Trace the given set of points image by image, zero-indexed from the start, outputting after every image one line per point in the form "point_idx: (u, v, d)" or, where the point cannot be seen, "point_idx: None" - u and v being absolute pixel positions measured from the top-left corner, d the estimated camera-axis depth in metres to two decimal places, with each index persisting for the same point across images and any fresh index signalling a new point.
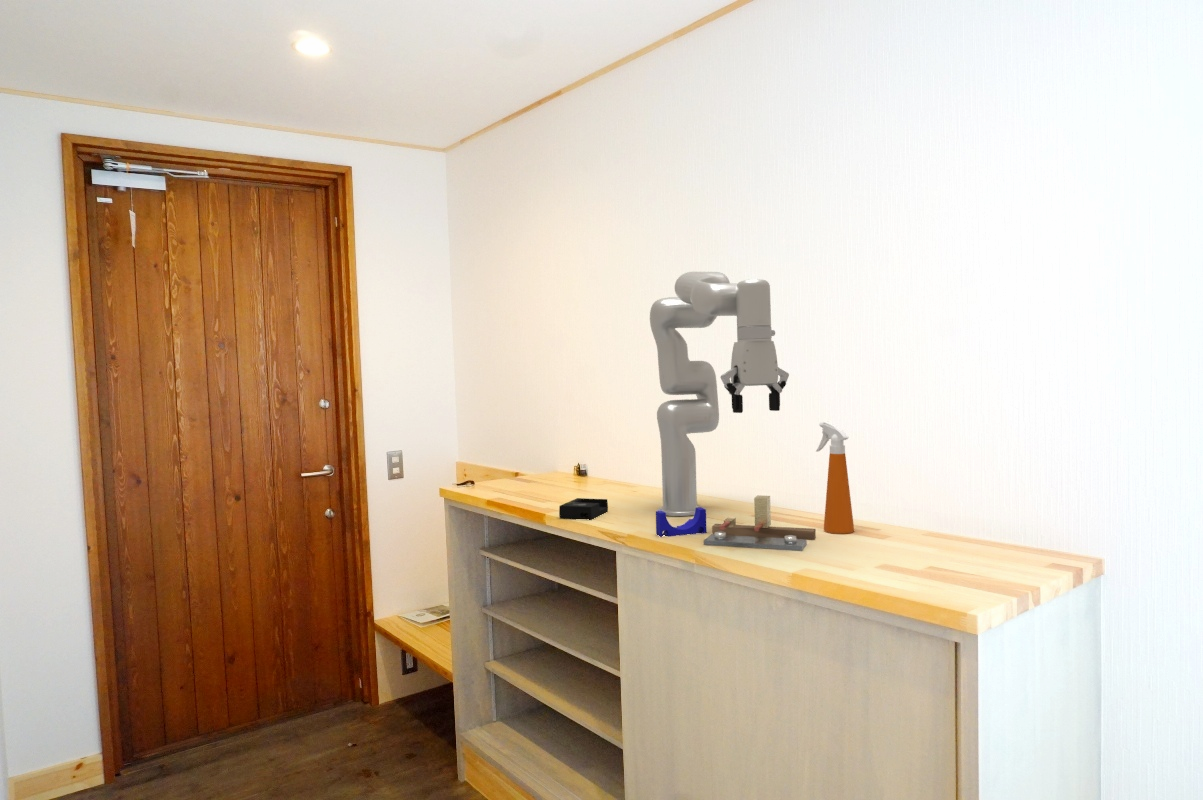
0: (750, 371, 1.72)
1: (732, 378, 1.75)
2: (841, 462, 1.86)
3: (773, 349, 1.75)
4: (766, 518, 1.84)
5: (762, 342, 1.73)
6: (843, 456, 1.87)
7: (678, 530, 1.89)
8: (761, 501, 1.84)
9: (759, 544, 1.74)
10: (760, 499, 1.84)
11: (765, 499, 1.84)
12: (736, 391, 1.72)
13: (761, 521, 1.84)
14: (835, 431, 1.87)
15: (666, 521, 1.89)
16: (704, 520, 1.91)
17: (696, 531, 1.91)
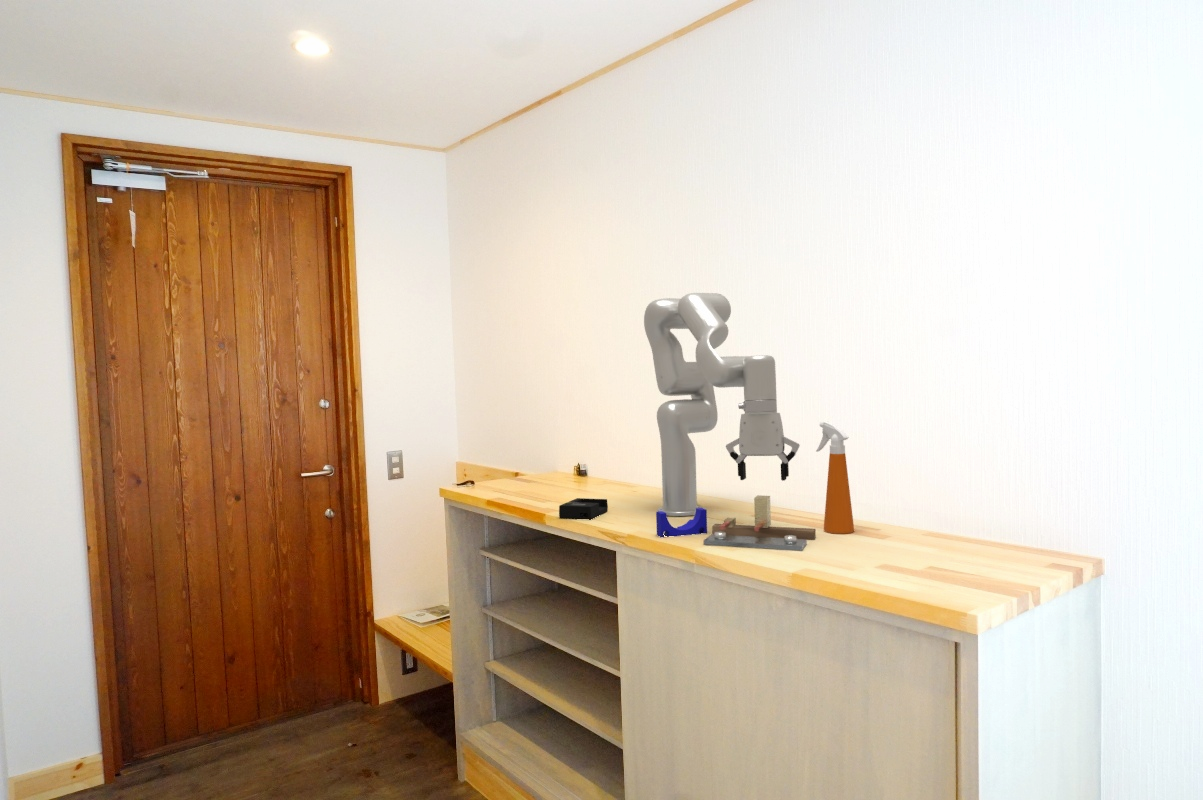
0: None
1: (782, 447, 1.82)
2: (841, 462, 1.86)
3: None
4: (766, 518, 1.84)
5: None
6: (843, 456, 1.87)
7: (679, 530, 1.89)
8: (761, 501, 1.84)
9: (759, 544, 1.74)
10: (760, 499, 1.84)
11: (765, 499, 1.84)
12: None
13: (761, 521, 1.84)
14: (835, 431, 1.87)
15: (667, 521, 1.88)
16: (705, 520, 1.91)
17: (697, 531, 1.90)
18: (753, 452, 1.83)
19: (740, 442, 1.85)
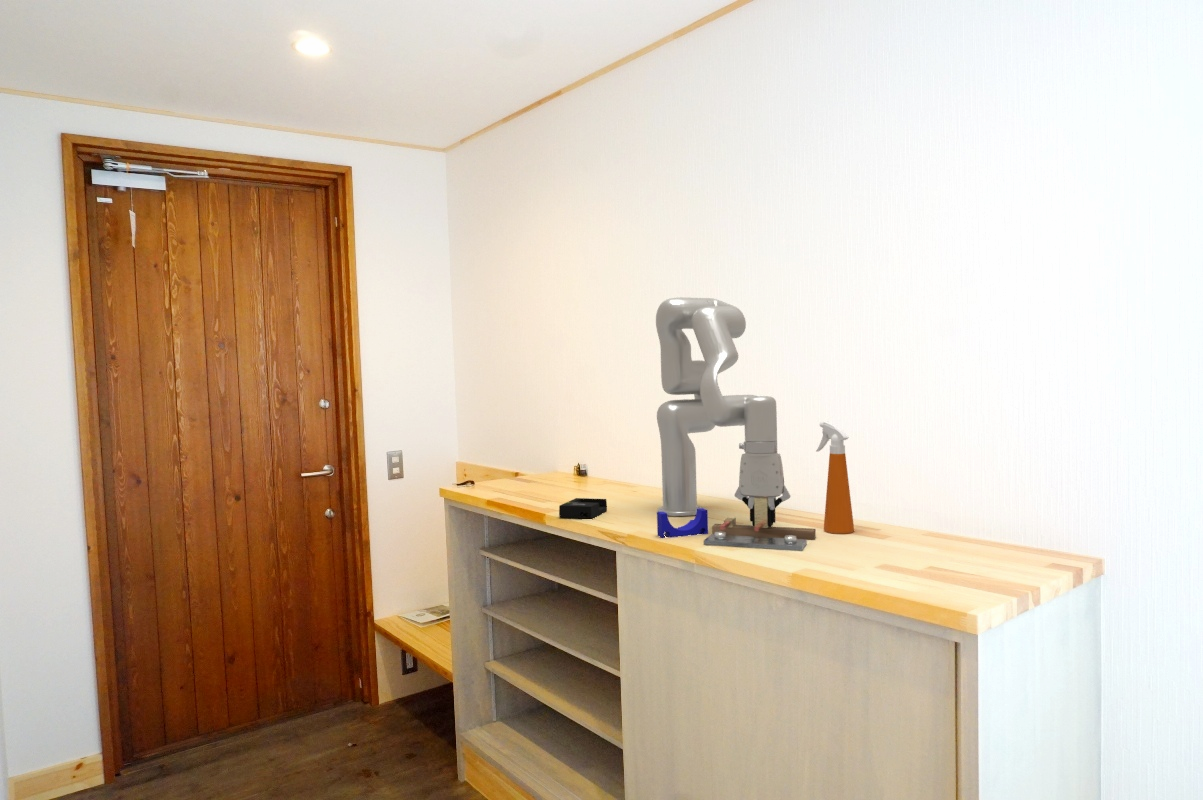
0: None
1: (782, 489, 1.83)
2: (841, 462, 1.86)
3: None
4: (766, 518, 1.84)
5: None
6: (843, 456, 1.87)
7: (679, 531, 1.88)
8: (761, 501, 1.84)
9: (759, 544, 1.74)
10: (760, 499, 1.84)
11: (765, 499, 1.84)
12: None
13: (761, 521, 1.84)
14: (835, 431, 1.87)
15: (667, 522, 1.87)
16: (706, 521, 1.90)
17: (698, 532, 1.90)
18: (753, 493, 1.84)
19: (740, 482, 1.85)
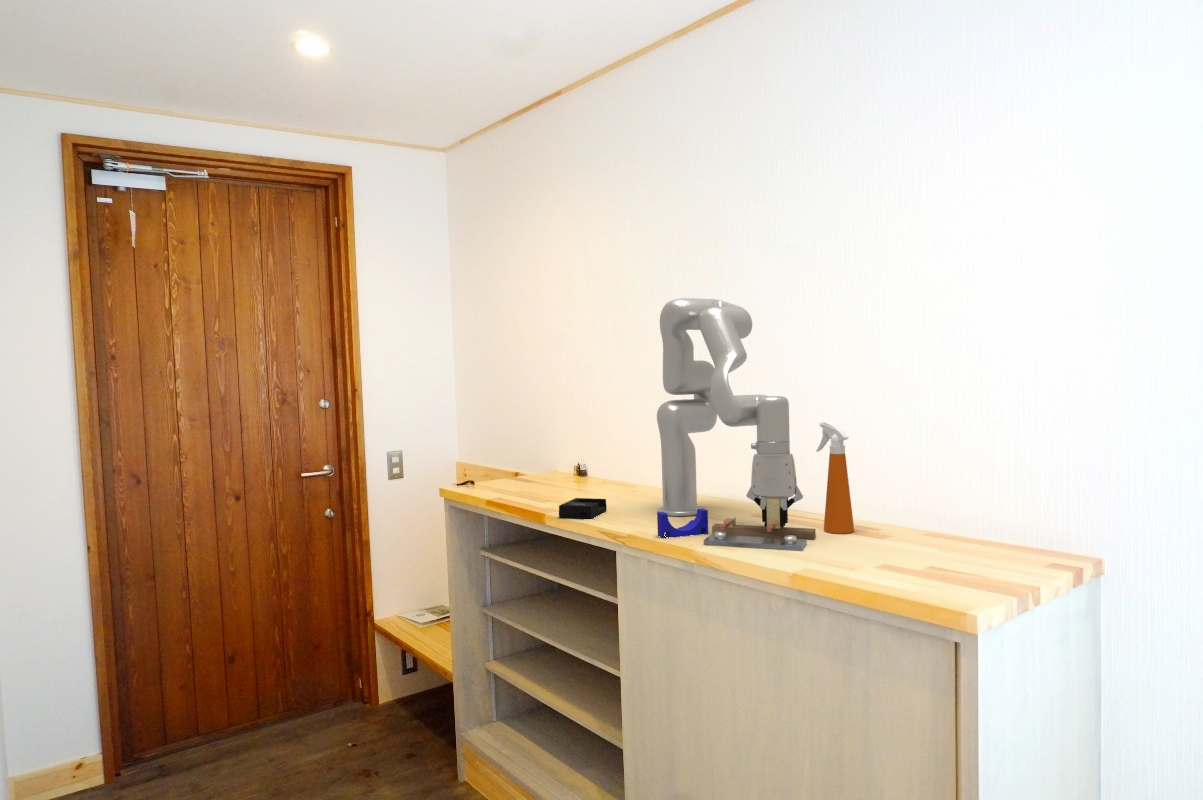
0: None
1: (794, 490, 1.81)
2: (841, 462, 1.86)
3: None
4: (778, 518, 1.83)
5: None
6: (843, 456, 1.87)
7: (680, 531, 1.88)
8: (773, 501, 1.83)
9: (759, 544, 1.74)
10: (772, 499, 1.83)
11: (777, 499, 1.83)
12: None
13: (773, 522, 1.83)
14: (835, 431, 1.87)
15: (668, 522, 1.87)
16: (706, 521, 1.90)
17: (698, 532, 1.89)
18: (765, 493, 1.83)
19: (752, 483, 1.84)
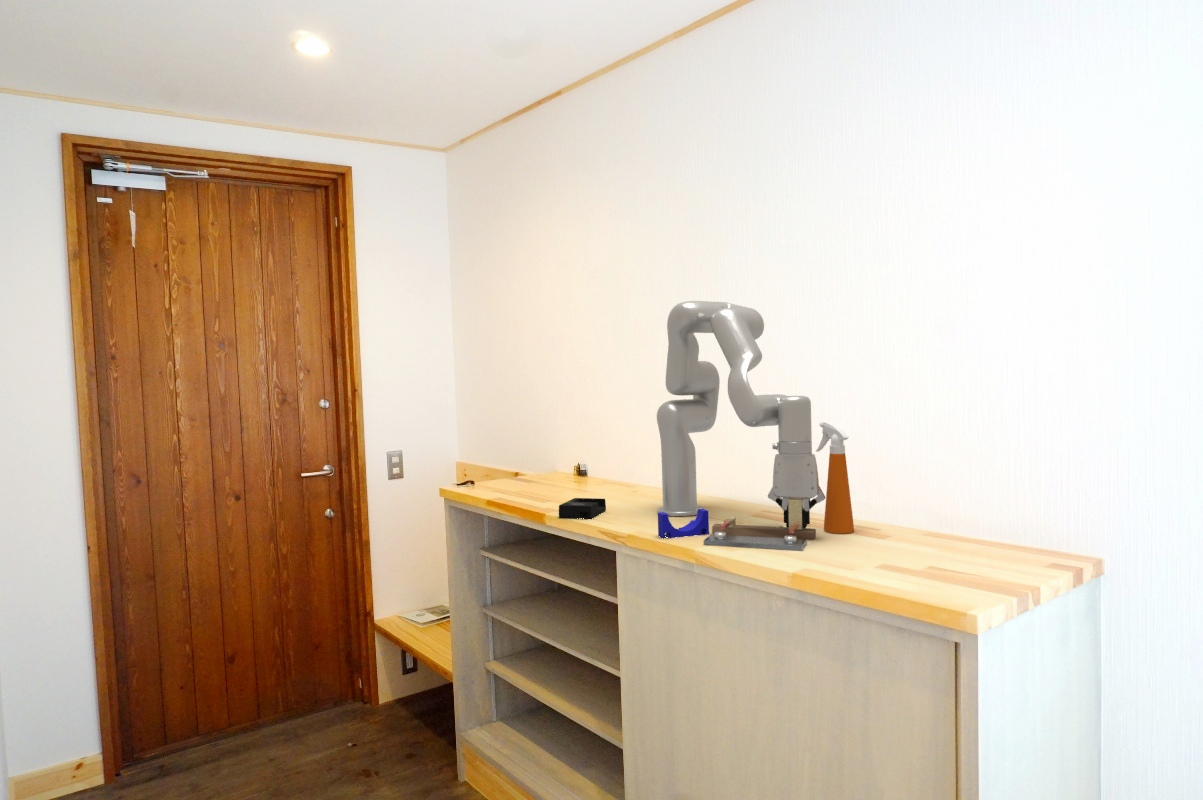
0: None
1: (817, 490, 1.79)
2: (841, 462, 1.86)
3: None
4: (800, 519, 1.81)
5: None
6: (843, 456, 1.87)
7: (680, 532, 1.88)
8: (795, 502, 1.81)
9: (759, 544, 1.74)
10: (794, 500, 1.81)
11: (799, 500, 1.81)
12: None
13: (795, 523, 1.81)
14: (835, 431, 1.87)
15: (668, 523, 1.87)
16: (706, 521, 1.90)
17: (698, 533, 1.89)
18: (787, 494, 1.81)
19: (774, 483, 1.82)
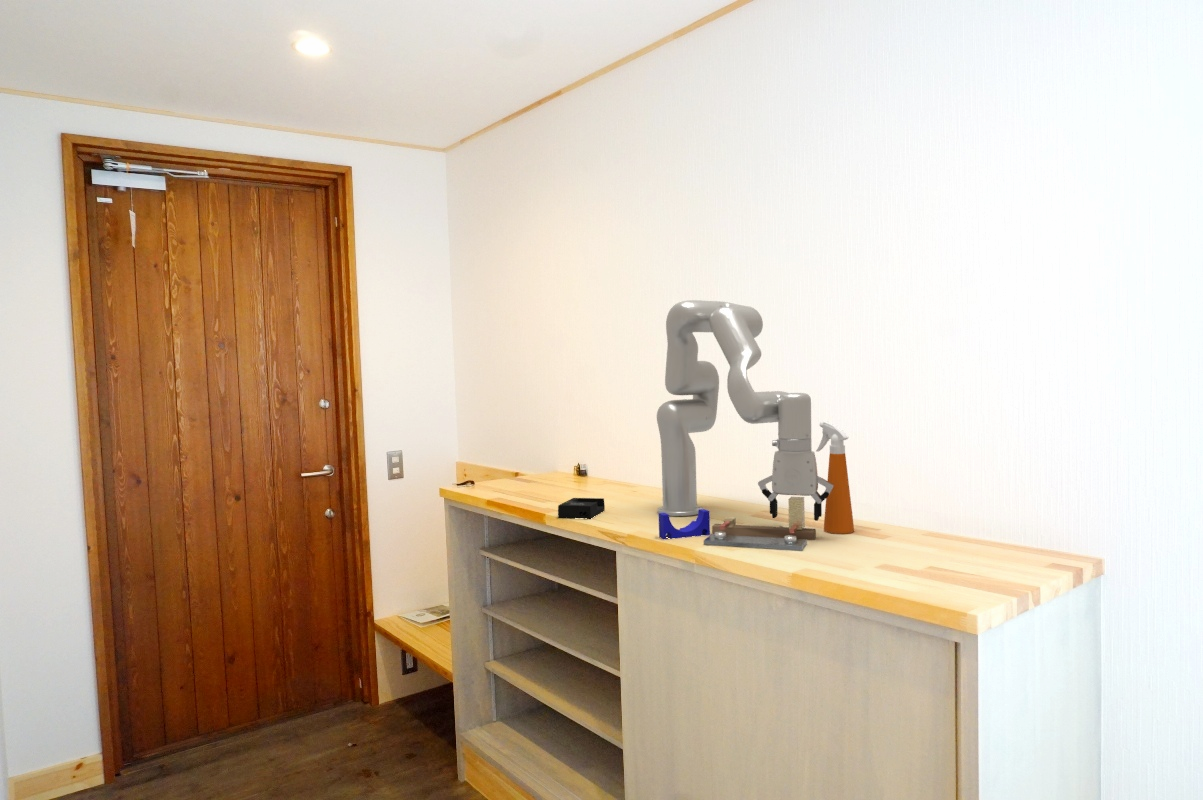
0: None
1: (816, 488, 1.80)
2: (841, 462, 1.86)
3: None
4: (800, 519, 1.81)
5: None
6: (843, 456, 1.87)
7: (681, 532, 1.87)
8: (796, 502, 1.81)
9: (759, 544, 1.74)
10: (794, 500, 1.81)
11: (800, 500, 1.81)
12: None
13: (795, 523, 1.81)
14: (835, 431, 1.87)
15: (669, 523, 1.86)
16: (707, 522, 1.89)
17: (699, 533, 1.88)
18: (786, 491, 1.81)
19: (773, 480, 1.82)
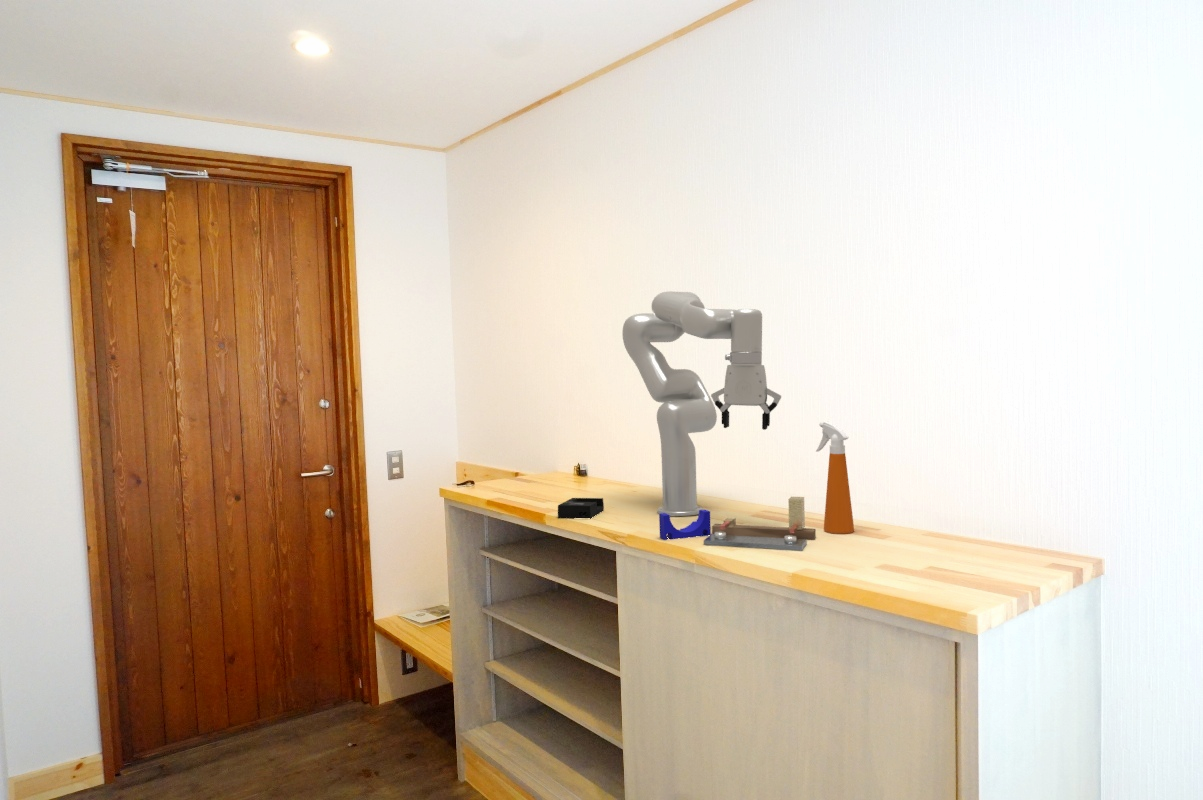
0: None
1: (764, 398, 1.91)
2: (841, 462, 1.86)
3: None
4: (800, 519, 1.81)
5: None
6: (843, 456, 1.87)
7: (682, 533, 1.86)
8: (796, 502, 1.81)
9: (759, 544, 1.74)
10: (794, 500, 1.81)
11: (800, 500, 1.81)
12: None
13: (795, 523, 1.81)
14: (835, 431, 1.87)
15: (670, 523, 1.85)
16: (708, 522, 1.88)
17: (700, 533, 1.88)
18: (736, 402, 1.92)
19: (725, 392, 1.93)
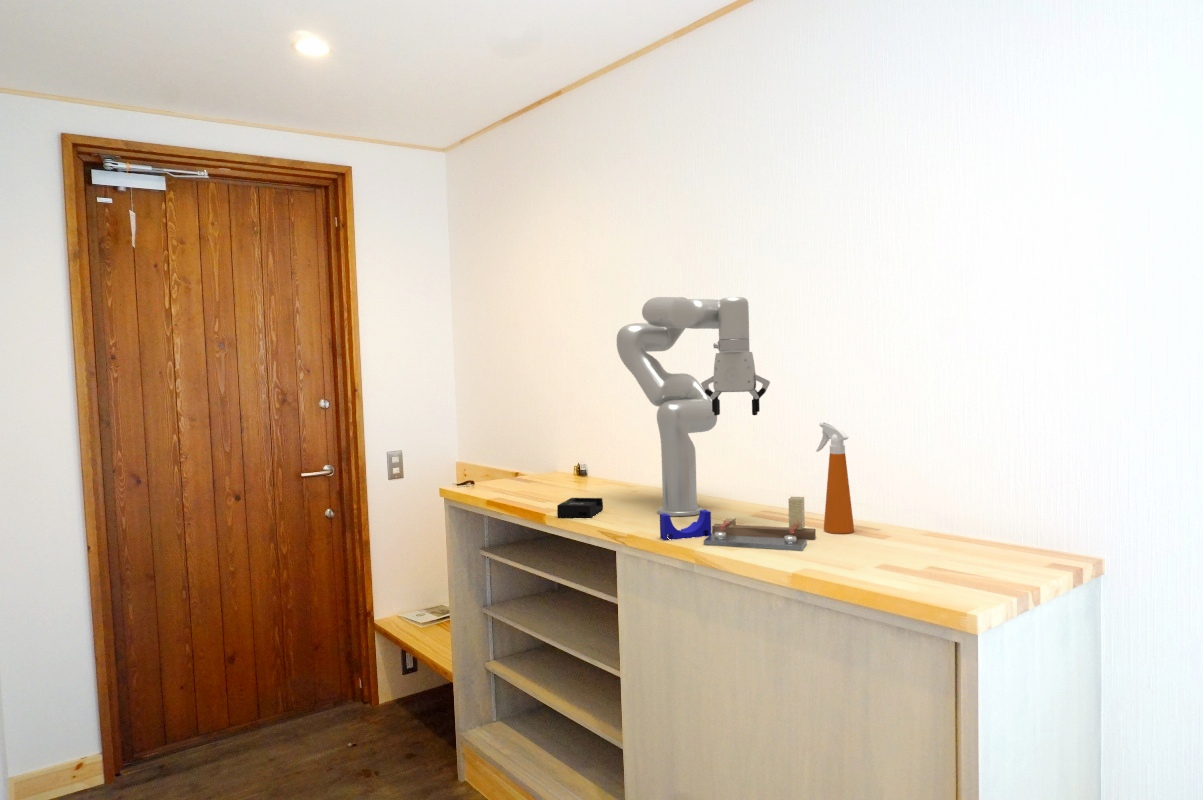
0: None
1: (753, 384, 1.93)
2: (841, 462, 1.86)
3: None
4: (800, 519, 1.81)
5: None
6: (843, 456, 1.87)
7: (683, 533, 1.86)
8: (796, 502, 1.81)
9: (759, 544, 1.74)
10: (794, 500, 1.81)
11: (800, 500, 1.81)
12: None
13: (795, 523, 1.81)
14: (835, 431, 1.87)
15: (671, 524, 1.85)
16: (709, 523, 1.88)
17: (701, 534, 1.87)
18: (726, 388, 1.94)
19: (714, 379, 1.96)
